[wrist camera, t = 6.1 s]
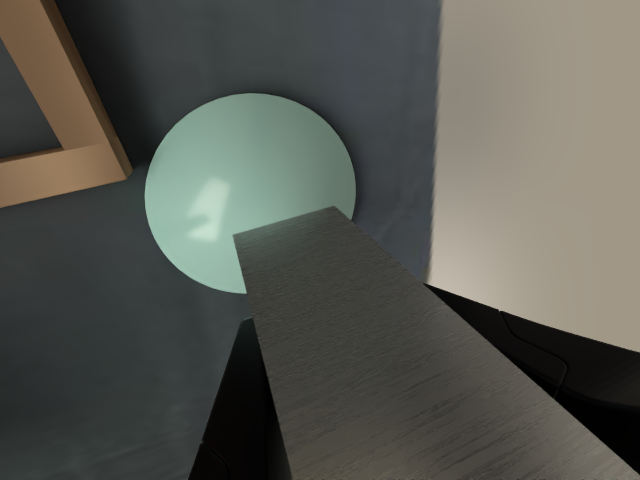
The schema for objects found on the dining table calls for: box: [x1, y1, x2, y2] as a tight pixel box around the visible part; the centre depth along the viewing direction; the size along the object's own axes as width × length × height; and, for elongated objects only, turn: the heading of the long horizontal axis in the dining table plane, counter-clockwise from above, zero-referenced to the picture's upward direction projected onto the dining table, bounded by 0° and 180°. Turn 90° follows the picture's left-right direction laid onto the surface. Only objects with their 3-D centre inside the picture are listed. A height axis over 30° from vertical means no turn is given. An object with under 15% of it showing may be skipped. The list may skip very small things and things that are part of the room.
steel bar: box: [232, 206, 640, 480], centre depth 7 cm, size 4×4×9 cm
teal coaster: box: [145, 93, 356, 293], centre depth 16 cm, size 11×11×1 cm
